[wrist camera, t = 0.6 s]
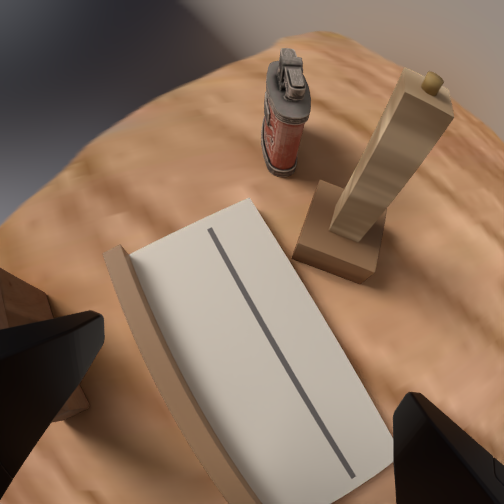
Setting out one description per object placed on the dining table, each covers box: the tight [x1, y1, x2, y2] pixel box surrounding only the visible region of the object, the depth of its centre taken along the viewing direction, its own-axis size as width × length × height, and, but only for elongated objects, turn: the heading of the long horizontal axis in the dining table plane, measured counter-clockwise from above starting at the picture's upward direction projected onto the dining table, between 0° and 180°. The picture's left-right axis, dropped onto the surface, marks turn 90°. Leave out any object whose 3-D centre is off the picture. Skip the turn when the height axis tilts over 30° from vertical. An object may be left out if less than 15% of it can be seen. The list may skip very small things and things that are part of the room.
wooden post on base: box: [292, 67, 454, 284], centre depth 17 cm, size 6×6×17 cm
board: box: [103, 198, 393, 504], centre depth 19 cm, size 24×12×4 cm, turn 29°
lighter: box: [261, 48, 311, 177], centre depth 24 cm, size 8×3×10 cm, turn 3°
